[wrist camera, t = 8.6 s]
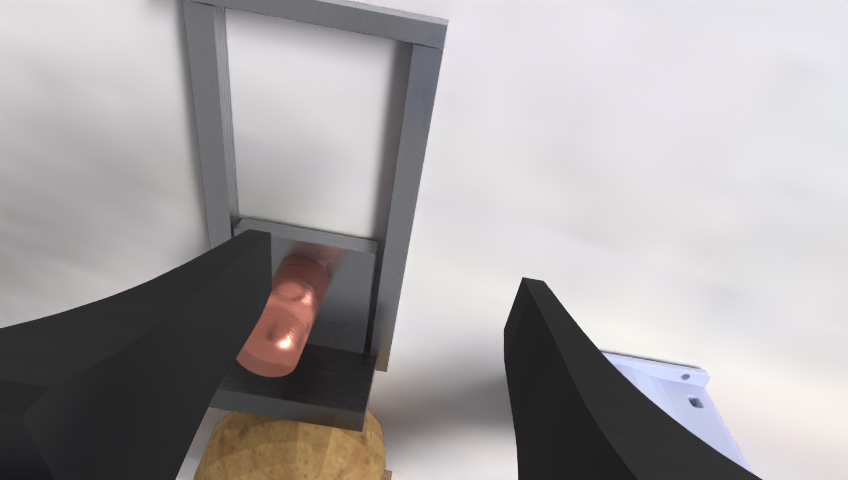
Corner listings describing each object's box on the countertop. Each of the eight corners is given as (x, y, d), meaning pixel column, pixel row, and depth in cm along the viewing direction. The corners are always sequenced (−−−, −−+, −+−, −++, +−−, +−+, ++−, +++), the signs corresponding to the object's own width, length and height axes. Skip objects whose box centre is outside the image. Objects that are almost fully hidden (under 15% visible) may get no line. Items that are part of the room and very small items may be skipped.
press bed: (492, 28, 18) (504, 52, 13) (388, 485, 36) (377, 570, 31) (146, -39, 18) (18, -41, 12) (218, 457, 36) (178, 539, 31)
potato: (192, 401, 32) (120, 517, 25) (331, 321, 27) (288, 439, 20) (288, 468, 36) (248, 584, 29) (425, 409, 31) (416, 533, 24)
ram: (395, 244, 23) (374, 333, 18) (377, 358, 28) (356, 458, 22) (226, 214, 23) (150, 295, 17) (236, 334, 28) (179, 429, 22)
